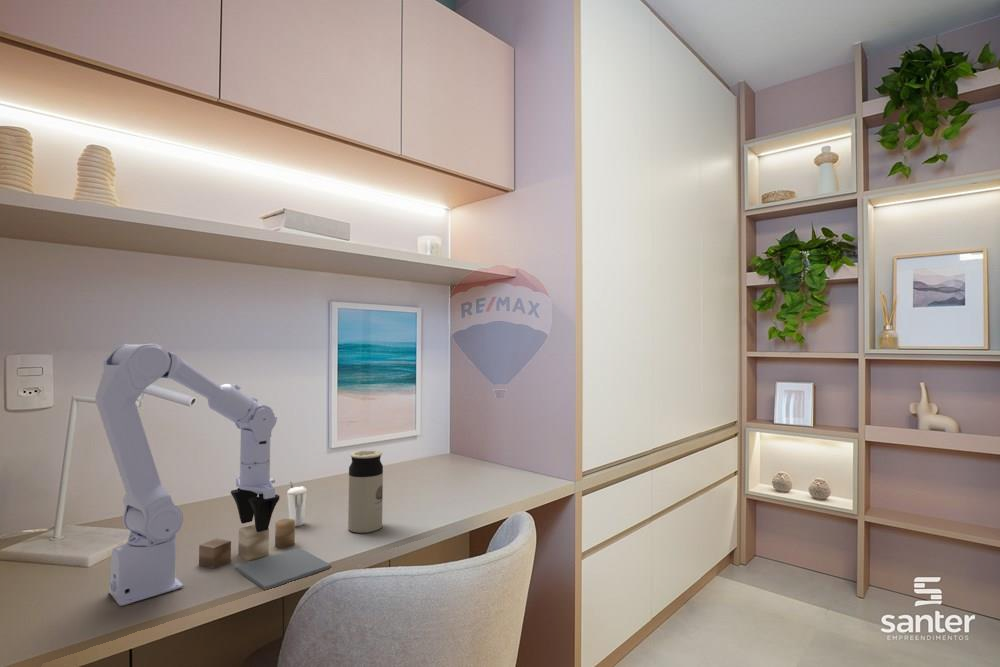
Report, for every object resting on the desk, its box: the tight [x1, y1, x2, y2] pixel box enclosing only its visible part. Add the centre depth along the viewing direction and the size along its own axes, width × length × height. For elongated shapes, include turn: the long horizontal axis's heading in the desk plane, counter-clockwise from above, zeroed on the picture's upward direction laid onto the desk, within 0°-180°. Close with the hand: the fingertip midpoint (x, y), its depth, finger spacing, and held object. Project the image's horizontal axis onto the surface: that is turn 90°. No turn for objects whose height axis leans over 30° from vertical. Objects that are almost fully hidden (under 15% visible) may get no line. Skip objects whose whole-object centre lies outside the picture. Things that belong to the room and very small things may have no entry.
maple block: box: [237, 524, 270, 561], centre depth 109 cm, size 4×4×6 cm
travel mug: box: [347, 449, 384, 534], centre depth 125 cm, size 8×8×18 cm
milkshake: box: [286, 481, 308, 528], centre depth 128 cm, size 5×5×10 cm
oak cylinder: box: [274, 518, 296, 549], centre depth 114 cm, size 4×4×5 cm
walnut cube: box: [198, 538, 232, 569], centre depth 105 cm, size 4×4×4 cm
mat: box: [235, 547, 332, 591], centre depth 102 cm, size 13×13×1 cm
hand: (254, 526), depth 109 cm, fingers open, 7 cm apart
